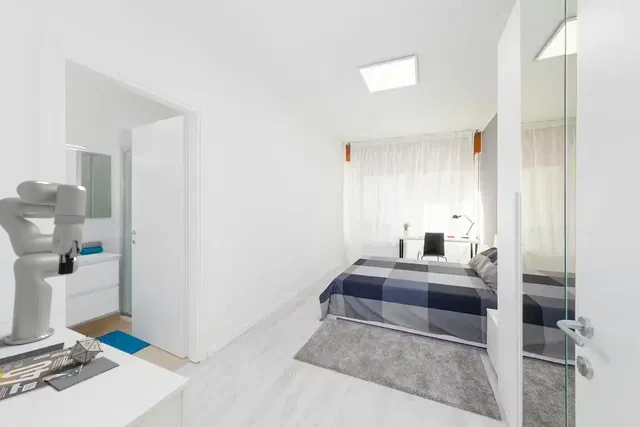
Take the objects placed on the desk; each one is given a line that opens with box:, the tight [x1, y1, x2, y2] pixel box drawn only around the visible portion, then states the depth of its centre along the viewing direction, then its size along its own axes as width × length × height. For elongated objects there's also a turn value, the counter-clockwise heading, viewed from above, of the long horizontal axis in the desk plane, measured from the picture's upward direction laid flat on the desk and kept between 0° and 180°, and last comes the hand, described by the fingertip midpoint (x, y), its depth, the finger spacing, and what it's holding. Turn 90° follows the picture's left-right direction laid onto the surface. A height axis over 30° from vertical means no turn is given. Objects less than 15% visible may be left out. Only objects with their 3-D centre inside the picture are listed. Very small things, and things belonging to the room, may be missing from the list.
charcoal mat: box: [48, 356, 120, 392], centre depth 76 cm, size 10×14×1 cm
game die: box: [67, 334, 104, 366], centre depth 82 cm, size 9×8×10 cm
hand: (65, 273), depth 87 cm, fingers closed
